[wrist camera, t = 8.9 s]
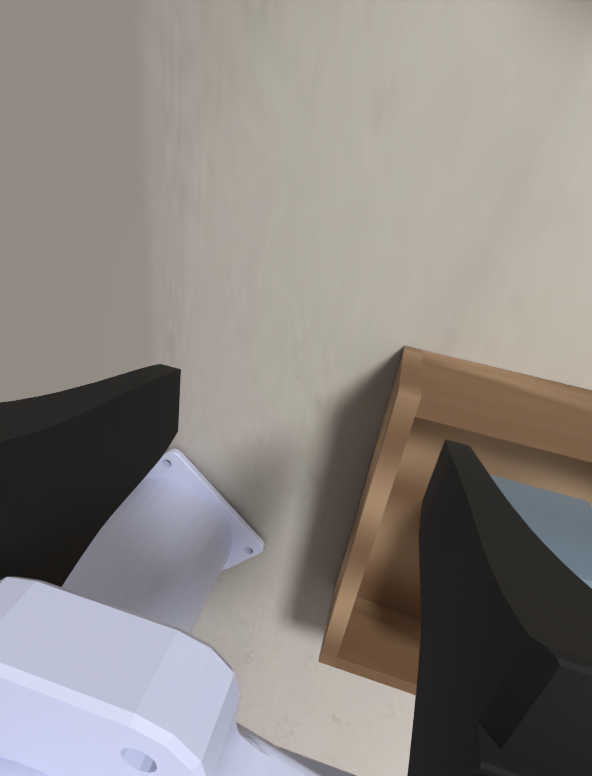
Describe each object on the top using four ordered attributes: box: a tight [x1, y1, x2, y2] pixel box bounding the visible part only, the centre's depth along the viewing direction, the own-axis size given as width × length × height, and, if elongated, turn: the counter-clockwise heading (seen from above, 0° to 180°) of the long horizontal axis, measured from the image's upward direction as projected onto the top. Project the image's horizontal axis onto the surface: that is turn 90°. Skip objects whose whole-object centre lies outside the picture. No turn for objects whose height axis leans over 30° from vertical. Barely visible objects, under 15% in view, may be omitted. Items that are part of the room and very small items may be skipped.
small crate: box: [489, 474, 592, 588], centre depth 21 cm, size 7×5×5 cm
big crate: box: [318, 346, 592, 695], centre depth 22 cm, size 16×14×4 cm
